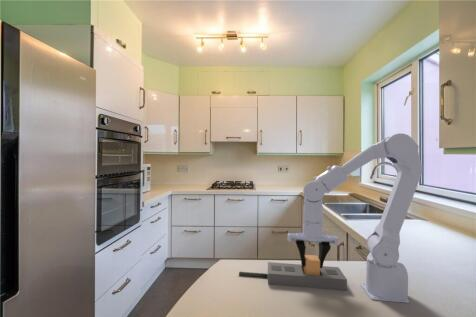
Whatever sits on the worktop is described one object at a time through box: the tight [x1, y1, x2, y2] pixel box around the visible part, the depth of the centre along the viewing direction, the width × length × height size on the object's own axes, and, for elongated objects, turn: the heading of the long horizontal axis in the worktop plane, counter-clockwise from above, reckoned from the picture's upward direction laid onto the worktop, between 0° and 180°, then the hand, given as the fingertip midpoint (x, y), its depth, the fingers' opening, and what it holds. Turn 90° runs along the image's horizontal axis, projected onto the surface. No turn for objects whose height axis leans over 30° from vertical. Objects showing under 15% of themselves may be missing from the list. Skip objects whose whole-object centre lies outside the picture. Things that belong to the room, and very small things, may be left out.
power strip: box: [238, 261, 348, 291], centre depth 75 cm, size 31×8×3 cm, turn 84°
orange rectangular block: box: [304, 254, 320, 275], centre depth 74 cm, size 4×4×7 cm
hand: (311, 266), depth 74 cm, fingers open, 4 cm apart
